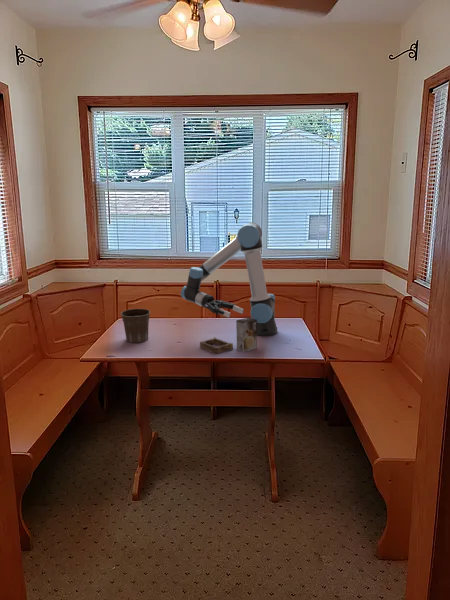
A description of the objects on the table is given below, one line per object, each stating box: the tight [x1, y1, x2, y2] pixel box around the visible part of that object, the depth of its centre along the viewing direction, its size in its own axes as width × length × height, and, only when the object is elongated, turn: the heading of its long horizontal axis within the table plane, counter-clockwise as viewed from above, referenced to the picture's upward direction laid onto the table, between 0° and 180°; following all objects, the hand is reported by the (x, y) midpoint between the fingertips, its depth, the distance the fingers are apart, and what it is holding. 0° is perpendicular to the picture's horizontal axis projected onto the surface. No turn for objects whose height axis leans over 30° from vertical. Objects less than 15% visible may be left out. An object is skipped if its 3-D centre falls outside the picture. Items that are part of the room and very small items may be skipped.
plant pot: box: [120, 308, 151, 344], centre depth 248 cm, size 16×16×16 cm
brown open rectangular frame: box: [199, 336, 234, 355], centre depth 234 cm, size 11×15×3 cm
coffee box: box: [235, 316, 258, 353], centre depth 231 cm, size 9×6×16 cm
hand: (236, 313), depth 235 cm, fingers open, 13 cm apart
